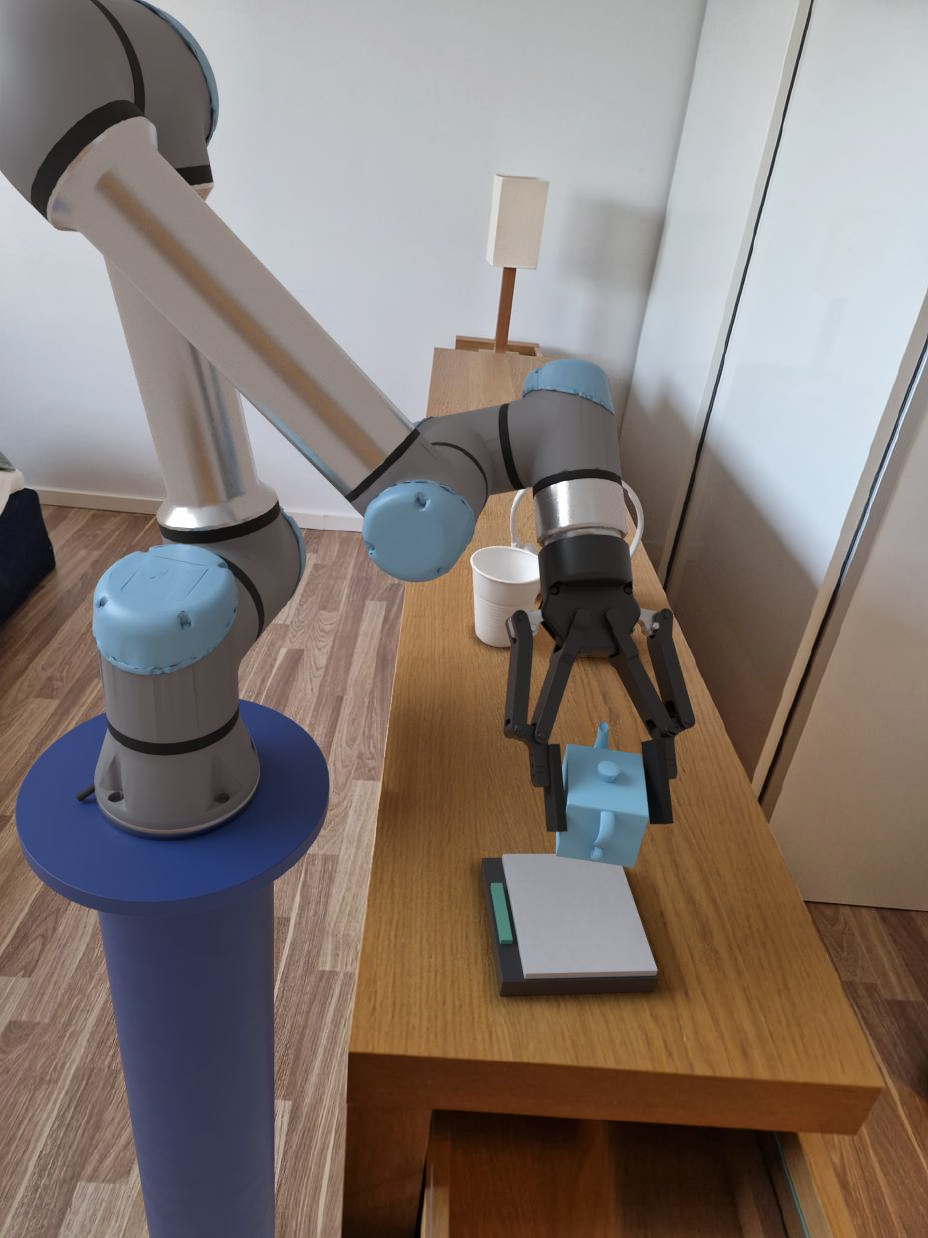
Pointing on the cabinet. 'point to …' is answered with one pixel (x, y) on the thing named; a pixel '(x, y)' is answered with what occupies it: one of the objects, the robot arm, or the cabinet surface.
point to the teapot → (603, 803)
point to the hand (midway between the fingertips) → (610, 827)
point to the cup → (502, 589)
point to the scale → (564, 927)
